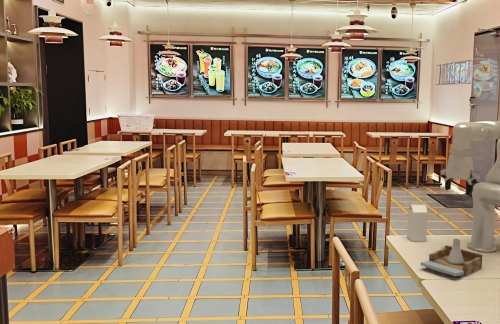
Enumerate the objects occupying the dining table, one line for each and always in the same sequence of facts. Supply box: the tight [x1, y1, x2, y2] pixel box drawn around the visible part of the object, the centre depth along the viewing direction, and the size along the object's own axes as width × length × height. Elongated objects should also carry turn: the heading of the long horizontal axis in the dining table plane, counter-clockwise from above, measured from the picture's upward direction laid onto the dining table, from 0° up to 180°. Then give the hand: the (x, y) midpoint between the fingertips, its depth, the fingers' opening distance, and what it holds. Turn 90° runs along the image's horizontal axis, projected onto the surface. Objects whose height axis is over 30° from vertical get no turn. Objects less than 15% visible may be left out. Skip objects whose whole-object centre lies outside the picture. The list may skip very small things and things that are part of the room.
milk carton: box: [406, 202, 428, 242], centre depth 235 cm, size 7×7×19 cm
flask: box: [446, 238, 464, 265], centre depth 199 cm, size 7×7×10 cm
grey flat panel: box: [420, 260, 464, 277], centre depth 192 cm, size 2×15×7 cm
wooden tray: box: [428, 244, 483, 277], centre depth 199 cm, size 14×16×6 cm
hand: (458, 191), depth 206 cm, fingers open, 9 cm apart
